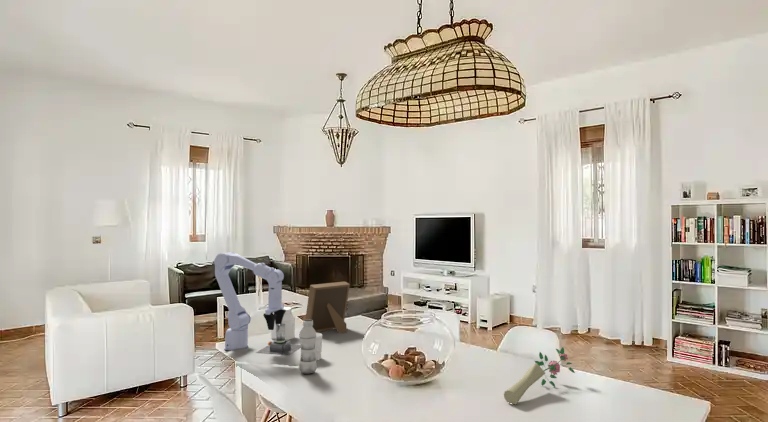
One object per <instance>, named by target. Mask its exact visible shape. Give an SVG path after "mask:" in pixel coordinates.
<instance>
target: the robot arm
mask: <svg viewBox="0 0 768 422" xmlns="http://www.w3.org/2000/svg"><path fill="white" fill-rule="evenodd" d="M213 264H214V276H215V279H216V281H217V283H218V286H219V289H220V292H221V294H222V297H223V298H224V301H225V304H226V306H227V309H228V312H227V316H226V318H227V319H228V322H227V323H228V327H229V328H227V329H226V331H225V334H224V348H223V350H225V351H226V350H227V351H233V350H235V349H246V348H248V346H249V345H248V344H249V341H248V340H249V339H248V338H249V335H248V334H249V324H250V323H251V319H252V318H251V316H250V314H249V313H248V312H247V311H246V309H245V308H244V307H243V306H242V305H241V303H240V300H239V298H238V295H237V293H236V291H235V288H234V286H233V283H232V280H231V277H230V275H229V274H230V272H231V270H232V268H234V266H235V265H238V266H241V267H243V268H246V269H248V270H251V271H252V272H253V275H255V276H257V277H259V278H262V279H264V280H265V281H266V282H267V283H268V304H267V305H268V307H267V308H266V309H265V313H263V318H264V319H265V321H266V325H267V330H268V331H271V330H273V329H274V322H275V323H276V324H280V323H282V319H283V316H284V314H285V312H286V310H285V309H284V307H285V305H284V304H283V303H282V301H283V300H282V295H283V294H282V293H283V292H282V289H283V287H282V285H283V282H282V281H284V278H285V275H284V272H283V271H282V270H281V269H278V268H277V269H275V268H274V267H270V266H268V265H266V263H265V262H258V263H255V262H254V261H252V260H249V258H246V257H244V256H242V255H240V254H239V253H236V252H234V251H229V252H220V253H218V254H217V255H216V256H215V257H214V260H213Z"/></svg>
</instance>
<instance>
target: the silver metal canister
mask: <svg viewBox="0 0 768 422" xmlns="http://www.w3.org/2000/svg"><path fill="white" fill-rule="evenodd" d="M275 340H276V343H277V344H283V343H285V324H283V323H280V324H276V339H275Z"/></svg>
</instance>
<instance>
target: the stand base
mask: <svg viewBox="0 0 768 422" xmlns="http://www.w3.org/2000/svg"><path fill="white" fill-rule="evenodd" d="M298 350H301V344H292V341H291V340H289V339H288V340H285V343H283V344H277V343H276V339H274V341H269V342H268V343H267V346H265V347H262V348H261V349H260V350H258V351H256V352H255V354H264V355H265V354H266V355H279V356H291V355H293V354H294V353H295V352H297V351H298Z"/></svg>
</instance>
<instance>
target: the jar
mask: <svg viewBox="0 0 768 422" xmlns="http://www.w3.org/2000/svg"><path fill="white" fill-rule="evenodd" d="M284 309H285V310H286V312H285V314H284V316H283V319H282V323H283V324H285V340H288V341H289V340H291V339H296V335H295V332H296V331H295V330H296V329H295V328H296V327H295V326H296V325H295V322H296V318H295V316H294V314H293V313H292V307H289V306H284ZM270 339H273V340H276V323H275V322H274V329H273V330H270Z"/></svg>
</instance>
